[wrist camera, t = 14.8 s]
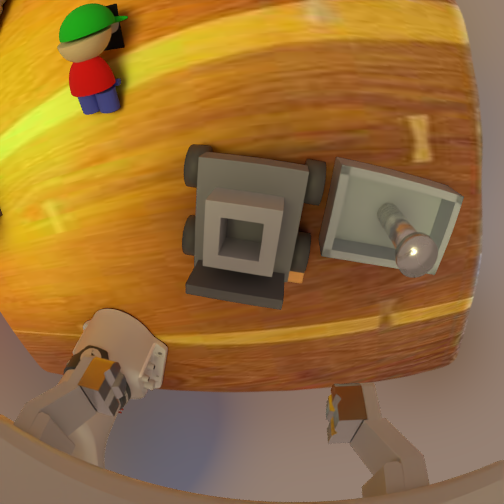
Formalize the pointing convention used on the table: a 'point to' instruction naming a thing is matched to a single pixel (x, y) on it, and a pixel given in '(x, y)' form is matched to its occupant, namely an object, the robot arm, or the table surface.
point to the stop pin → (407, 242)
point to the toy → (92, 55)
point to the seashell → (0, 1)
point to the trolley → (248, 225)
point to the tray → (367, 204)
